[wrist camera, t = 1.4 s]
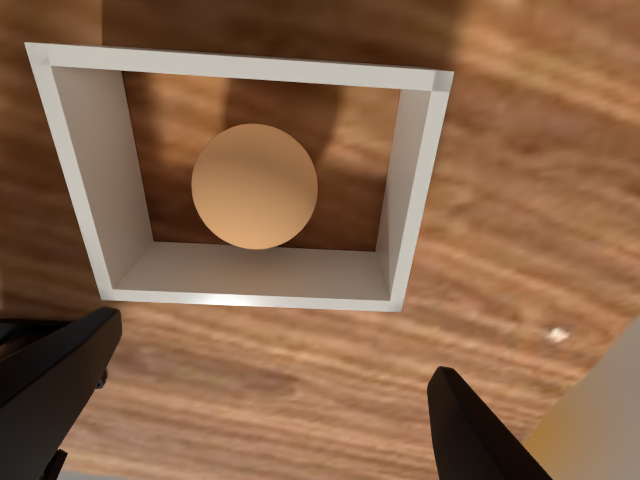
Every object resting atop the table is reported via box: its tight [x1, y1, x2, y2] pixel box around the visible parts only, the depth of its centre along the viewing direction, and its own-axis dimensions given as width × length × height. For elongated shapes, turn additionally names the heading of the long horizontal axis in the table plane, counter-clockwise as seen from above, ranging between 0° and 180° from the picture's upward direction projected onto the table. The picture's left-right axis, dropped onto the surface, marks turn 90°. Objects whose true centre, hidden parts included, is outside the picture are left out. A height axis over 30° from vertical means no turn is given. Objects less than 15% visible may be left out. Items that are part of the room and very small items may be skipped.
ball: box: [192, 124, 318, 249], centre depth 17 cm, size 6×6×6 cm
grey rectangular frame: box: [24, 42, 454, 312], centre depth 17 cm, size 15×11×5 cm
